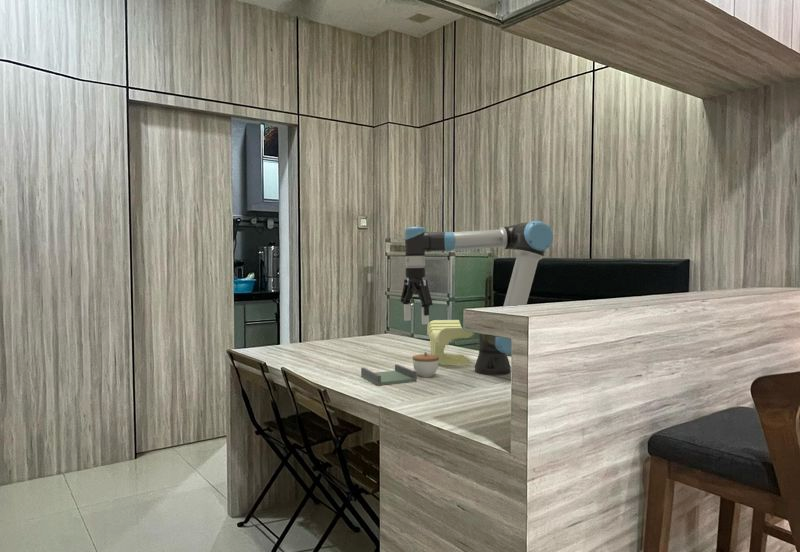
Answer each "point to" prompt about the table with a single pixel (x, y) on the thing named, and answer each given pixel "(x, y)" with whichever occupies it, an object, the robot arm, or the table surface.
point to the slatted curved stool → (446, 340)
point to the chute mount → (389, 376)
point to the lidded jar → (425, 364)
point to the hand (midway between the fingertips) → (416, 322)
